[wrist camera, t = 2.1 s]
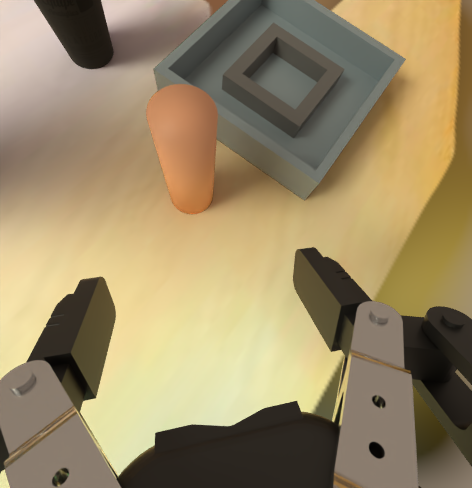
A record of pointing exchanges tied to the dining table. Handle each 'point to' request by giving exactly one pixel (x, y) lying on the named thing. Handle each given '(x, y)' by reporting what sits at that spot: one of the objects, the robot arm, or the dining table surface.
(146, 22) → the dining table surface
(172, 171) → the peg
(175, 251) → the dining table surface
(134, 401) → the dining table surface
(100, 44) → the drinking cup
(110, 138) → the dining table surface
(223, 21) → the tray
